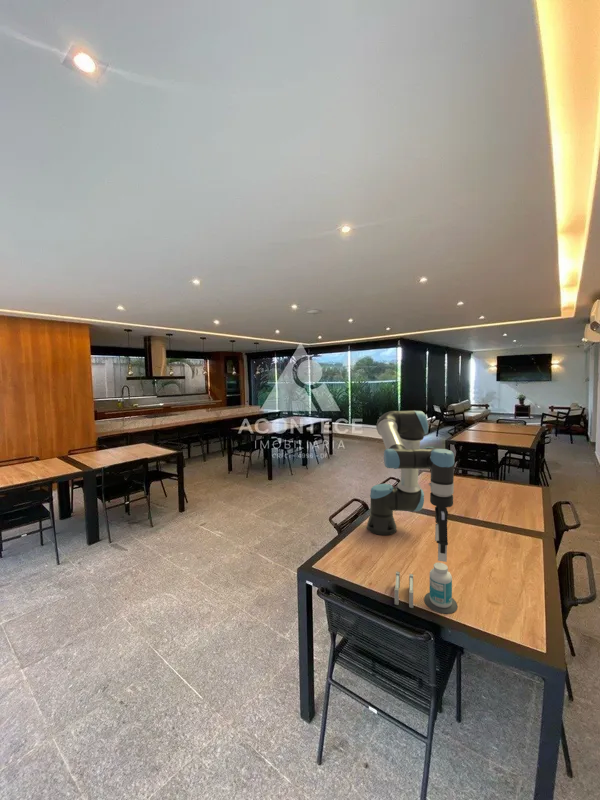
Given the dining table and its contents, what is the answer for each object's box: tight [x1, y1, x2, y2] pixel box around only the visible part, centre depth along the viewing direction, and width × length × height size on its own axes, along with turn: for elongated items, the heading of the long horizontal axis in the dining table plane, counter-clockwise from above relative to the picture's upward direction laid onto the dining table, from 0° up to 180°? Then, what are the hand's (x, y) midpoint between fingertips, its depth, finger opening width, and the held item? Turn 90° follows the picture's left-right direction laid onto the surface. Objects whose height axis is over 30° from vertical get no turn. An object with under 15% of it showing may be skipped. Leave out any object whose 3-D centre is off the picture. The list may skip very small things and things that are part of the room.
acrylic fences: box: [394, 570, 414, 609], centre depth 122 cm, size 11×6×6 cm, turn 161°
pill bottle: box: [429, 562, 453, 608], centre depth 118 cm, size 8×7×14 cm
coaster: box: [423, 591, 458, 615], centre depth 118 cm, size 11×11×1 cm
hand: (440, 550), depth 118 cm, fingers open, 13 cm apart
